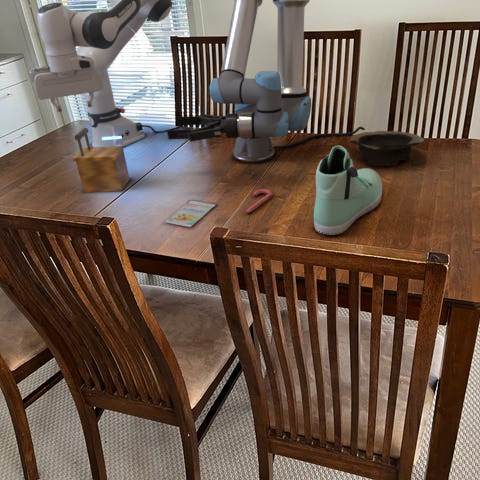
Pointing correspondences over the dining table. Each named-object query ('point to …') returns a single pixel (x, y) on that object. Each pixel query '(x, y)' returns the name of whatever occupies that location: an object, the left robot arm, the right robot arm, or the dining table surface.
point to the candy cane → (261, 201)
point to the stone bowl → (385, 146)
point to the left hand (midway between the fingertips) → (75, 109)
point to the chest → (103, 174)
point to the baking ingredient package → (190, 213)
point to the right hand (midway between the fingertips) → (172, 127)
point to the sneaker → (343, 192)
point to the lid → (94, 150)
